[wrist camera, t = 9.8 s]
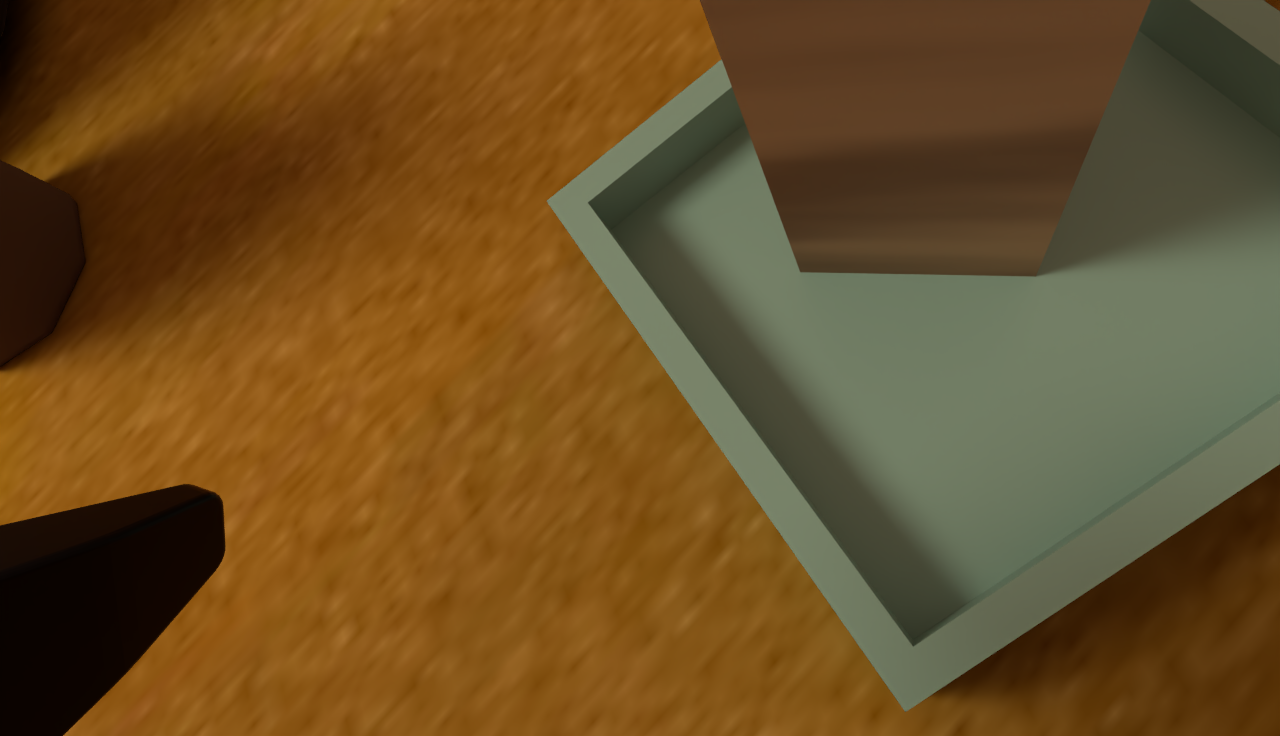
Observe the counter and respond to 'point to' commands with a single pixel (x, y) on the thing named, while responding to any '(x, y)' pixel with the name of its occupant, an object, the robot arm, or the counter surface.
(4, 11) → the milk container
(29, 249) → the beer bottle
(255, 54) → the counter surface
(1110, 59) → the walnut block
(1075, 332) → the teal tray
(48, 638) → the robot arm
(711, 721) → the counter surface
